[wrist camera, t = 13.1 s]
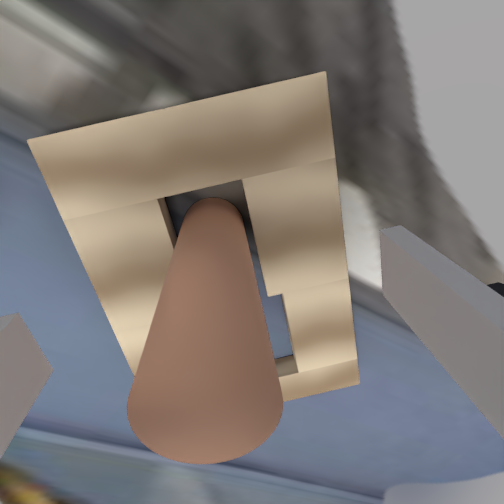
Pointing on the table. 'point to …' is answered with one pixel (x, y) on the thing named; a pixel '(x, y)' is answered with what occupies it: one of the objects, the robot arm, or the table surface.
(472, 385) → the robot arm
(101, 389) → the table surface
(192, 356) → the peg
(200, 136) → the keyhole board
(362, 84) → the table surface
